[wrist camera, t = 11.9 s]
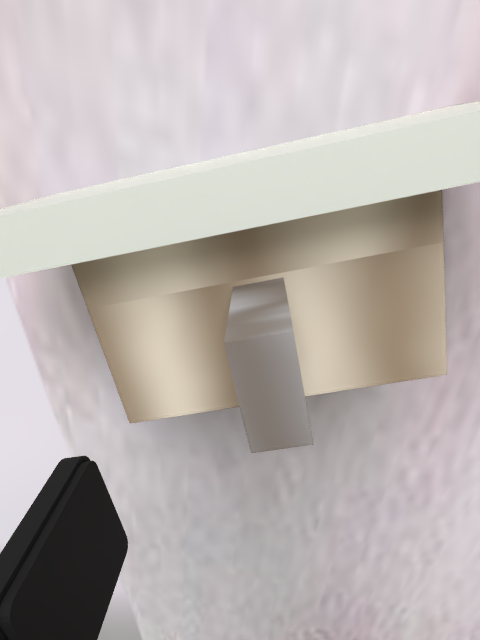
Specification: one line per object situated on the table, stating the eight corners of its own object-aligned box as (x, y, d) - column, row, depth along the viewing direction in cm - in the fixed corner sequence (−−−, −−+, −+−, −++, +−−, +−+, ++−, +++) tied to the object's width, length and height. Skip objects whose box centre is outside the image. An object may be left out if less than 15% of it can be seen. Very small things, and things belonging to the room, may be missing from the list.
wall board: (450, 105, 23) (628, 77, 12) (451, 145, 24) (619, 153, 13) (48, 195, 26) (-111, 240, 15) (60, 228, 26) (-82, 295, 15)
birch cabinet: (371, 162, 24) (522, 196, 10) (383, 294, 27) (511, 455, 14) (135, 212, 26) (-5, 299, 12) (170, 332, 29) (90, 510, 15)
